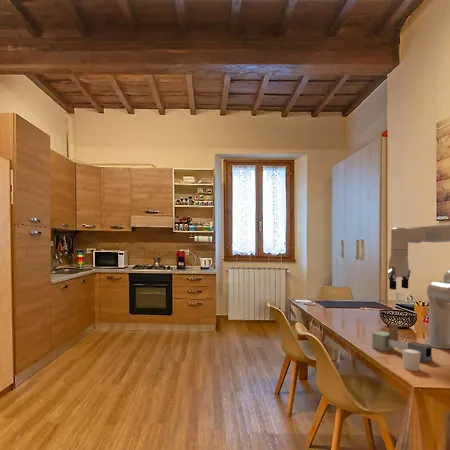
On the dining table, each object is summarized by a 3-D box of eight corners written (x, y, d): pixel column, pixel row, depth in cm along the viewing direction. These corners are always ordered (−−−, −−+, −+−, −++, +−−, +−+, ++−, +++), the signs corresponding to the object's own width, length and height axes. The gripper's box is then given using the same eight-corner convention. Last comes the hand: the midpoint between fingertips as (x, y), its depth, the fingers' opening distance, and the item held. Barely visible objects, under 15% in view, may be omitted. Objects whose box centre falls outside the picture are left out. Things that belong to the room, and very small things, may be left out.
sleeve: (414, 355, 174) (414, 341, 174) (432, 360, 167) (432, 346, 167) (406, 357, 171) (407, 343, 171) (424, 362, 164) (424, 347, 164)
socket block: (382, 345, 189) (382, 331, 189) (393, 348, 184) (393, 333, 184) (372, 347, 184) (372, 333, 185) (383, 351, 179) (383, 336, 180)
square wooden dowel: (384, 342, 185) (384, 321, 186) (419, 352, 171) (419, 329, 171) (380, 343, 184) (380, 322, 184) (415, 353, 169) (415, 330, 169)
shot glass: (415, 365, 160) (415, 348, 161) (424, 371, 154) (424, 353, 154) (398, 365, 160) (399, 348, 160) (407, 371, 153) (407, 353, 153)
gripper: (402, 252, 194) (402, 286, 194) (381, 252, 185) (380, 288, 185) (417, 253, 188) (416, 288, 188) (395, 253, 179) (395, 290, 178)
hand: (398, 288), depth 186 cm, fingers open, 9 cm apart
